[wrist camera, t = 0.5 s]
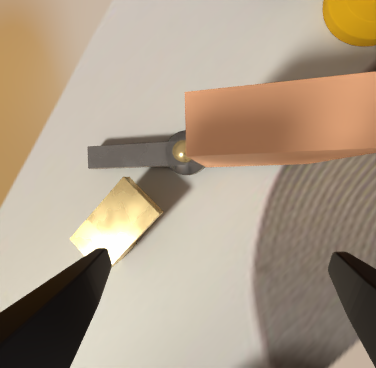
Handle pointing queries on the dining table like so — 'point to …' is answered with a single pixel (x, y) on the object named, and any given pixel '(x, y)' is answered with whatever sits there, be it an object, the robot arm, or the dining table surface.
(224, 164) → the peach block with bar
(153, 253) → the dining table surface
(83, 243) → the keeper
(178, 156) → the pintle
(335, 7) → the doorknob
